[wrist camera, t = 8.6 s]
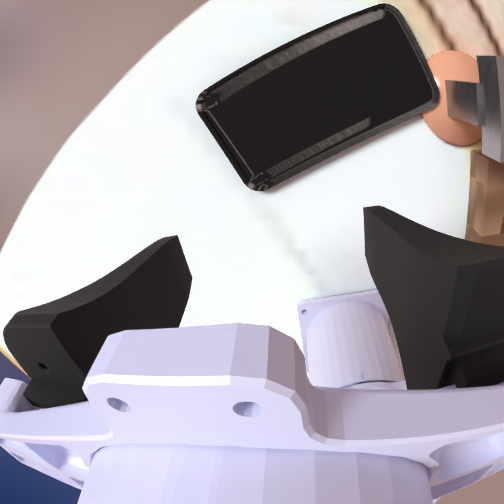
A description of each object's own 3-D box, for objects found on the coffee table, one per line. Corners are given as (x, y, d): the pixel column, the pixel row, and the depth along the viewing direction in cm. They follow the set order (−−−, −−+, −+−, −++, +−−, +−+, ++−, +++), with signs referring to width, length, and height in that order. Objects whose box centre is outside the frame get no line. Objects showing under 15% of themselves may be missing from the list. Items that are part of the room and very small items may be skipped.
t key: (476, 138, 18) (525, 162, 13) (448, 139, 18) (496, 162, 13) (470, 59, 15) (523, 61, 10) (441, 56, 15) (491, 55, 10)
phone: (188, 100, 18) (393, -1, 13) (193, 99, 19) (387, 2, 14) (253, 198, 21) (445, 104, 17) (254, 192, 22) (437, 102, 18)
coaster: (494, 143, 18) (497, 145, 18) (420, 146, 19) (422, 147, 19) (488, 55, 15) (491, 55, 14) (409, 48, 16) (411, 47, 15)
